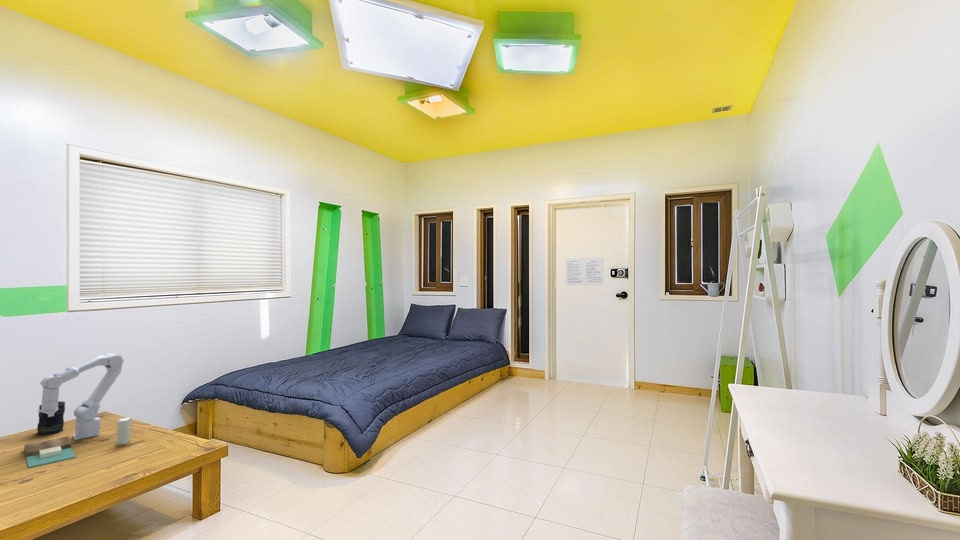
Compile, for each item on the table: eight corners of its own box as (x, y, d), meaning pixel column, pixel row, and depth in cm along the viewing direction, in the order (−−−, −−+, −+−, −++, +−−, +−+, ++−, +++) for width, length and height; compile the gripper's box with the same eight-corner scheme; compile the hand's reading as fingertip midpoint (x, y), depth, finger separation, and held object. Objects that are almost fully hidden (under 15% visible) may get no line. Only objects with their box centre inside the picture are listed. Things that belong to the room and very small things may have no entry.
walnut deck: (67, 441, 209) (68, 436, 209) (71, 448, 202) (71, 443, 202) (24, 449, 197) (24, 444, 198) (26, 457, 190) (26, 452, 190)
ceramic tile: (59, 450, 198) (60, 445, 198) (61, 454, 194) (61, 449, 195) (38, 454, 193) (39, 450, 193) (40, 458, 189) (40, 454, 189)
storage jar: (53, 427, 224) (55, 400, 225) (68, 429, 223) (70, 402, 223) (31, 434, 215) (33, 406, 215) (46, 436, 213) (49, 408, 213)
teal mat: (71, 448, 201) (71, 447, 201) (75, 457, 193) (75, 456, 193) (26, 458, 190) (26, 456, 190) (28, 468, 181) (28, 466, 181)
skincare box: (126, 444, 210) (128, 420, 210) (115, 445, 208) (117, 421, 208) (130, 439, 216) (132, 416, 216) (119, 440, 214) (121, 417, 214)
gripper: (37, 398, 204) (35, 425, 204) (39, 405, 195) (37, 433, 195) (57, 395, 210) (55, 421, 210) (60, 402, 201) (58, 429, 201)
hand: (48, 427), depth 203 cm, fingers closed
